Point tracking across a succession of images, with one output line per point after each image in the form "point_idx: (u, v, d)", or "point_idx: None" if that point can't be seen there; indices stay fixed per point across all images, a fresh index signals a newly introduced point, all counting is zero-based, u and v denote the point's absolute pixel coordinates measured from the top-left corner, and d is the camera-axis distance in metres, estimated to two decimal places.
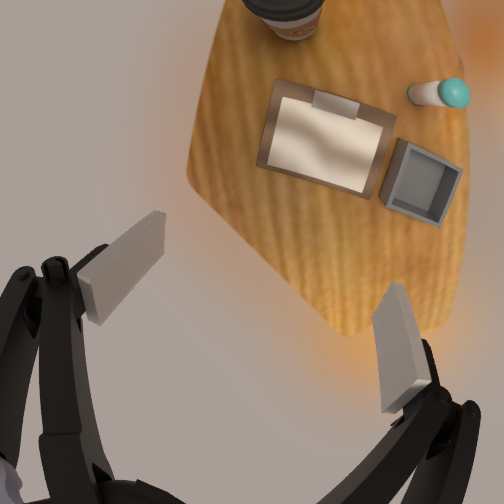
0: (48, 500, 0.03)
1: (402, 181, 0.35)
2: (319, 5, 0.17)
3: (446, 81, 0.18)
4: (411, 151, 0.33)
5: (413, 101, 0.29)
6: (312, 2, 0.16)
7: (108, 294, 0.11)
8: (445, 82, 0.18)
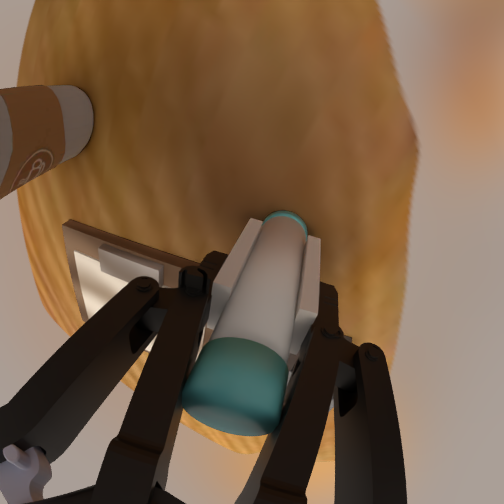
0: (48, 500, 0.03)
1: None
2: None
3: (186, 384, 0.08)
4: None
5: None
6: None
7: None
8: (185, 384, 0.08)
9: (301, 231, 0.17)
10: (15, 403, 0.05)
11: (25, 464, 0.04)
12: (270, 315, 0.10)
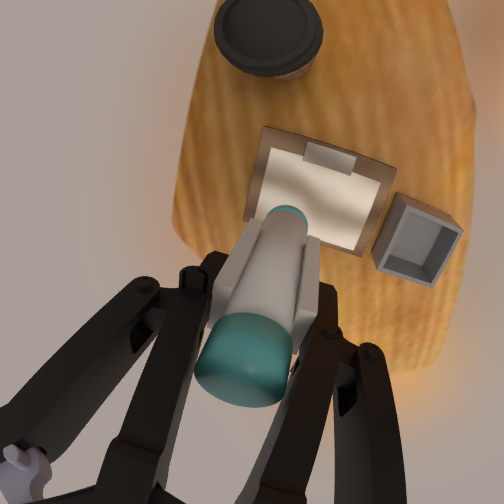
0: (48, 500, 0.03)
1: (397, 237, 0.35)
2: (313, 54, 0.16)
3: (201, 355, 0.09)
4: None
5: None
6: (304, 53, 0.16)
7: None
8: (199, 356, 0.09)
9: (302, 224, 0.18)
10: (16, 403, 0.05)
11: (25, 464, 0.04)
12: (276, 294, 0.11)
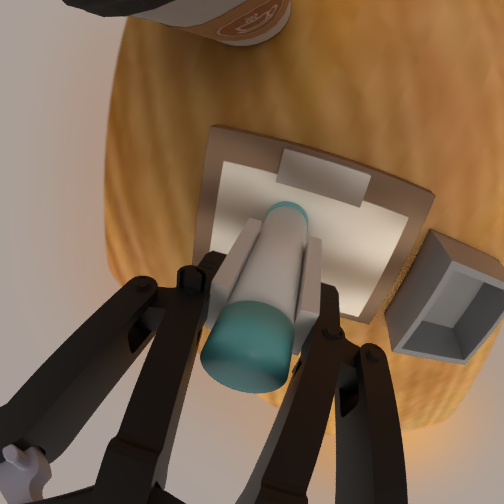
0: (48, 500, 0.03)
1: None
2: None
3: (208, 340, 0.09)
4: None
5: None
6: None
7: None
8: (206, 341, 0.10)
9: (303, 220, 0.18)
10: (15, 403, 0.05)
11: (25, 464, 0.04)
12: (279, 285, 0.11)
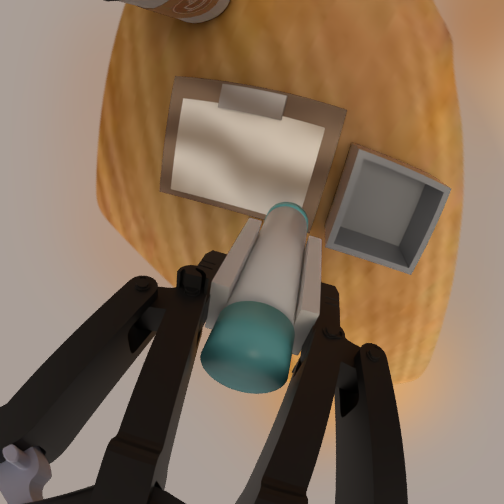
0: (48, 500, 0.03)
1: (359, 205, 0.27)
2: None
3: (208, 341, 0.09)
4: (372, 161, 0.24)
5: None
6: None
7: None
8: (206, 342, 0.10)
9: (303, 220, 0.18)
10: (15, 403, 0.05)
11: (25, 464, 0.04)
12: (279, 285, 0.12)
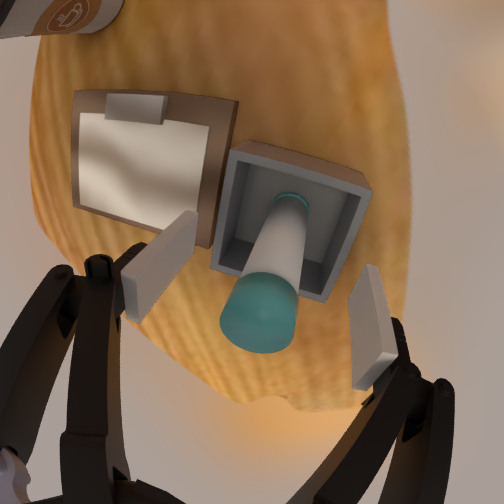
0: (48, 500, 0.03)
1: (263, 215, 0.23)
2: None
3: (227, 305, 0.12)
4: None
5: None
6: None
7: (149, 292, 0.12)
8: (225, 306, 0.12)
9: (305, 208, 0.20)
10: None
11: (2, 466, 0.03)
12: (285, 261, 0.14)
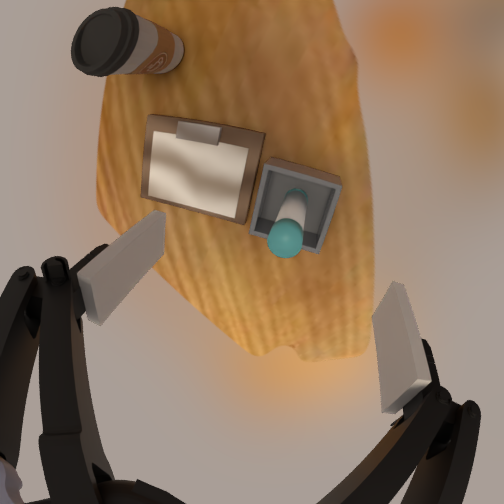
0: (48, 500, 0.03)
1: (280, 203, 0.37)
2: (130, 50, 0.20)
3: (271, 230, 0.26)
4: None
5: None
6: (118, 52, 0.19)
7: (108, 294, 0.11)
8: (270, 231, 0.26)
9: (305, 197, 0.35)
10: None
11: None
12: (296, 216, 0.28)
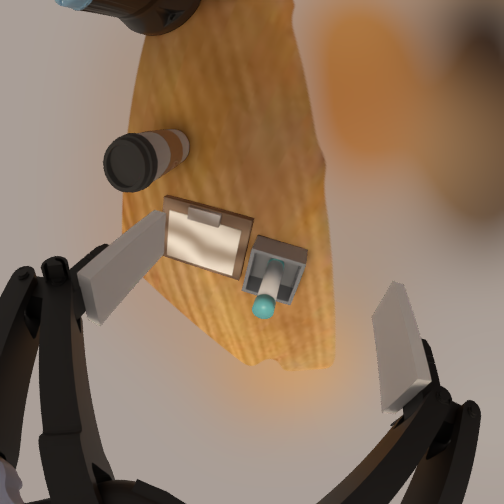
0: (48, 500, 0.03)
1: (264, 266, 0.53)
2: (153, 177, 0.35)
3: (254, 303, 0.41)
4: None
5: None
6: (144, 181, 0.34)
7: (108, 294, 0.11)
8: (254, 304, 0.41)
9: (281, 265, 0.50)
10: None
11: None
12: (271, 290, 0.43)
